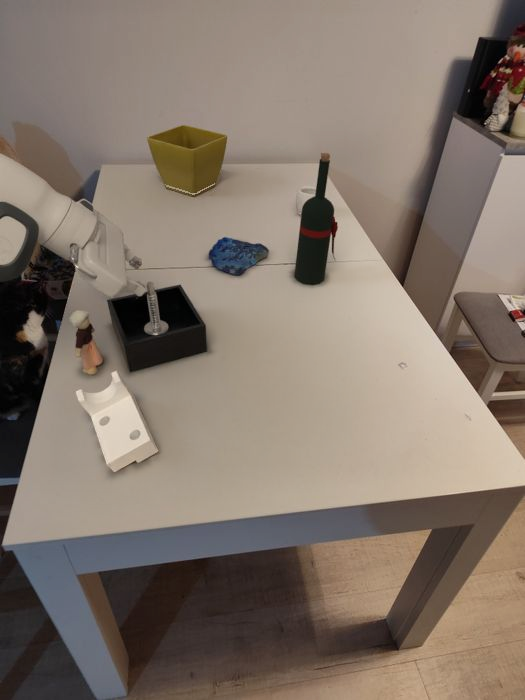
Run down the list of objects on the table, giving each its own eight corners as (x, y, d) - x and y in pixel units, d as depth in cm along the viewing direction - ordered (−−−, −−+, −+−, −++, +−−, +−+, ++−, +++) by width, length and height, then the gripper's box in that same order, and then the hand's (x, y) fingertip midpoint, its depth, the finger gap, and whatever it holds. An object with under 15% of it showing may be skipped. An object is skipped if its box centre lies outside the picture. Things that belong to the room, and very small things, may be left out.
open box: (129, 372, 84) (124, 345, 80) (112, 326, 95) (106, 299, 90) (207, 351, 90) (205, 325, 85) (182, 309, 100) (180, 284, 96)
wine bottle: (336, 284, 111) (359, 160, 92) (296, 285, 110) (310, 160, 91) (329, 268, 117) (349, 148, 98) (291, 268, 116) (304, 148, 96)
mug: (324, 219, 140) (328, 194, 135) (299, 221, 138) (301, 196, 133) (312, 203, 149) (315, 180, 144) (287, 205, 147) (290, 181, 142)
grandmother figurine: (101, 377, 83) (86, 324, 75) (79, 379, 82) (62, 325, 74) (106, 351, 89) (93, 298, 80) (86, 352, 88) (71, 299, 80)
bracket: (96, 417, 77) (75, 391, 72) (134, 397, 79) (116, 370, 73) (116, 475, 69) (94, 451, 63) (158, 451, 70) (140, 426, 65)
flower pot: (195, 203, 145) (192, 149, 134) (151, 189, 152) (145, 137, 141) (228, 185, 157) (228, 135, 146) (186, 173, 164) (183, 124, 153)
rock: (273, 252, 122) (273, 246, 120) (237, 280, 111) (237, 273, 110) (229, 238, 128) (229, 231, 126) (191, 263, 117) (190, 256, 115)
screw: (171, 328, 94) (166, 343, 90) (148, 327, 94) (143, 342, 90) (164, 275, 85) (160, 289, 82) (139, 274, 85) (133, 288, 81)
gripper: (81, 248, 64) (157, 297, 73) (85, 194, 79) (148, 240, 88) (57, 278, 66) (133, 322, 75) (64, 220, 81) (128, 262, 90)
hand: (141, 277), depth 82 cm, fingers open, 8 cm apart
